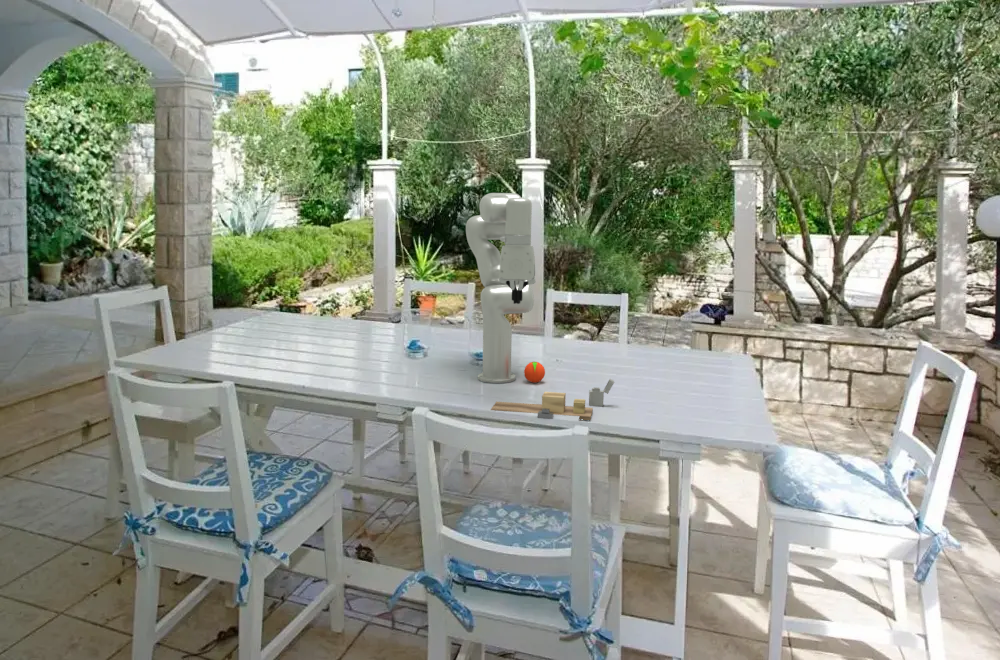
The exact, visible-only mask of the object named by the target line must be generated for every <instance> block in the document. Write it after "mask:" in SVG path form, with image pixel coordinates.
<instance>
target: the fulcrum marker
mask: <svg viewBox="0 0 1000 660" xmlns="http://www.w3.org/2000/svg"><path fill="white" fill-rule="evenodd" d="M537 418H538V419H549V420H550V419H551V420H553V418H554V412H550V409H546V408H542V411H539V412H538V413H537Z"/></svg>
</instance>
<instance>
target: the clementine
mask: <svg viewBox="0 0 1000 660" xmlns="http://www.w3.org/2000/svg"><path fill="white" fill-rule="evenodd" d="M523 375H524V377H525V379H526V380H527V381H528V382H529V383H532V384H535V383H540V382H541V381H543V379H544V377H545V375H546V369H545V366H543V364H541V363H540V362H538V361H532V362H531V361H530V362H528V364H527V365H526V366H525V367H524V370H523Z"/></svg>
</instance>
